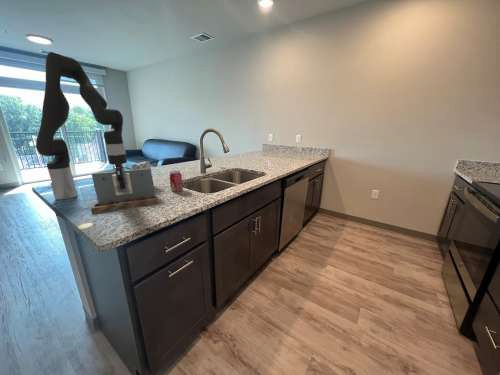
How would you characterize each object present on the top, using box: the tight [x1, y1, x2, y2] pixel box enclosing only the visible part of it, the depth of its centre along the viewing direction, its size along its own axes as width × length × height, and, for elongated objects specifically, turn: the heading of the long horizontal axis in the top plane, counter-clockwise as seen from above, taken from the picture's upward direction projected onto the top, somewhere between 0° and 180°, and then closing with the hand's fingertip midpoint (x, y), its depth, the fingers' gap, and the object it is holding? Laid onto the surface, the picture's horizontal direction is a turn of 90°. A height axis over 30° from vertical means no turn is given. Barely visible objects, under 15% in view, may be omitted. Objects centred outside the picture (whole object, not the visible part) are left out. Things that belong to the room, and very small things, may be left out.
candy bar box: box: [131, 161, 154, 185], centre depth 132 cm, size 11×5×16 cm, turn 168°
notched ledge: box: [90, 194, 158, 214], centre depth 105 cm, size 28×7×3 cm, turn 117°
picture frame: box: [112, 173, 133, 195], centre depth 102 cm, size 7×3×10 cm, turn 117°
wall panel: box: [91, 169, 155, 203], centre depth 112 cm, size 27×3×16 cm, turn 117°
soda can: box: [169, 170, 184, 193], centre depth 127 cm, size 7×7×12 cm
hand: (123, 187), depth 102 cm, fingers closed on picture frame, 3 cm apart
